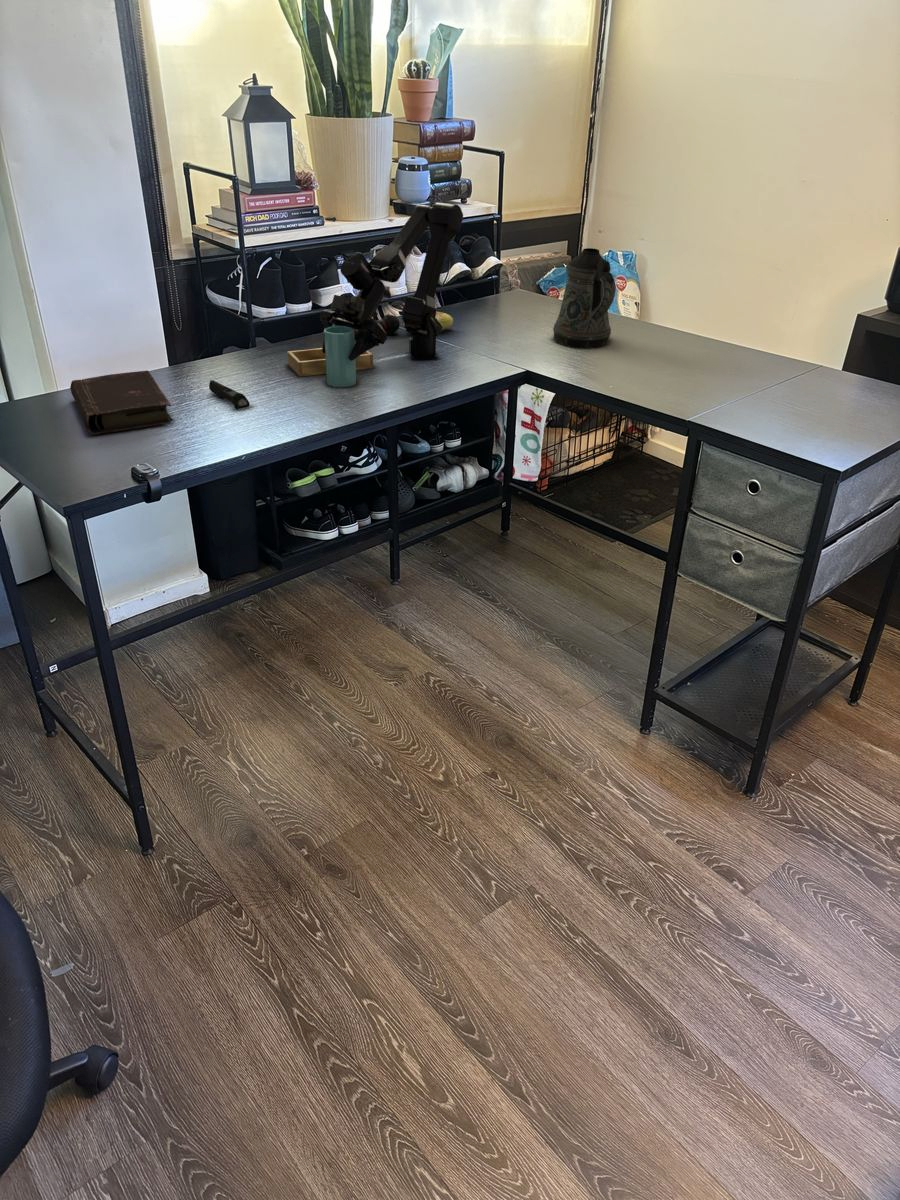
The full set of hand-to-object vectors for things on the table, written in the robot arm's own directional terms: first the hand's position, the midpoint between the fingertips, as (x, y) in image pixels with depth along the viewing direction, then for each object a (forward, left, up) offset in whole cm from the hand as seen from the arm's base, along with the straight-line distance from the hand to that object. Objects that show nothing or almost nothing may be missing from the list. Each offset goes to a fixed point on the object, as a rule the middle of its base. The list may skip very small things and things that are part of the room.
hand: (336, 356), depth 216 cm
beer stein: (-74, -27, -7) cm, 79 cm away
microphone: (-13, -42, -7) cm, 44 cm away
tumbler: (-1, -1, -7) cm, 7 cm away
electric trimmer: (+27, +8, -7) cm, 29 cm away
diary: (+50, +12, -7) cm, 52 cm away
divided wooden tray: (0, -14, -7) cm, 16 cm away
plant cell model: (-31, -44, -4) cm, 54 cm away
